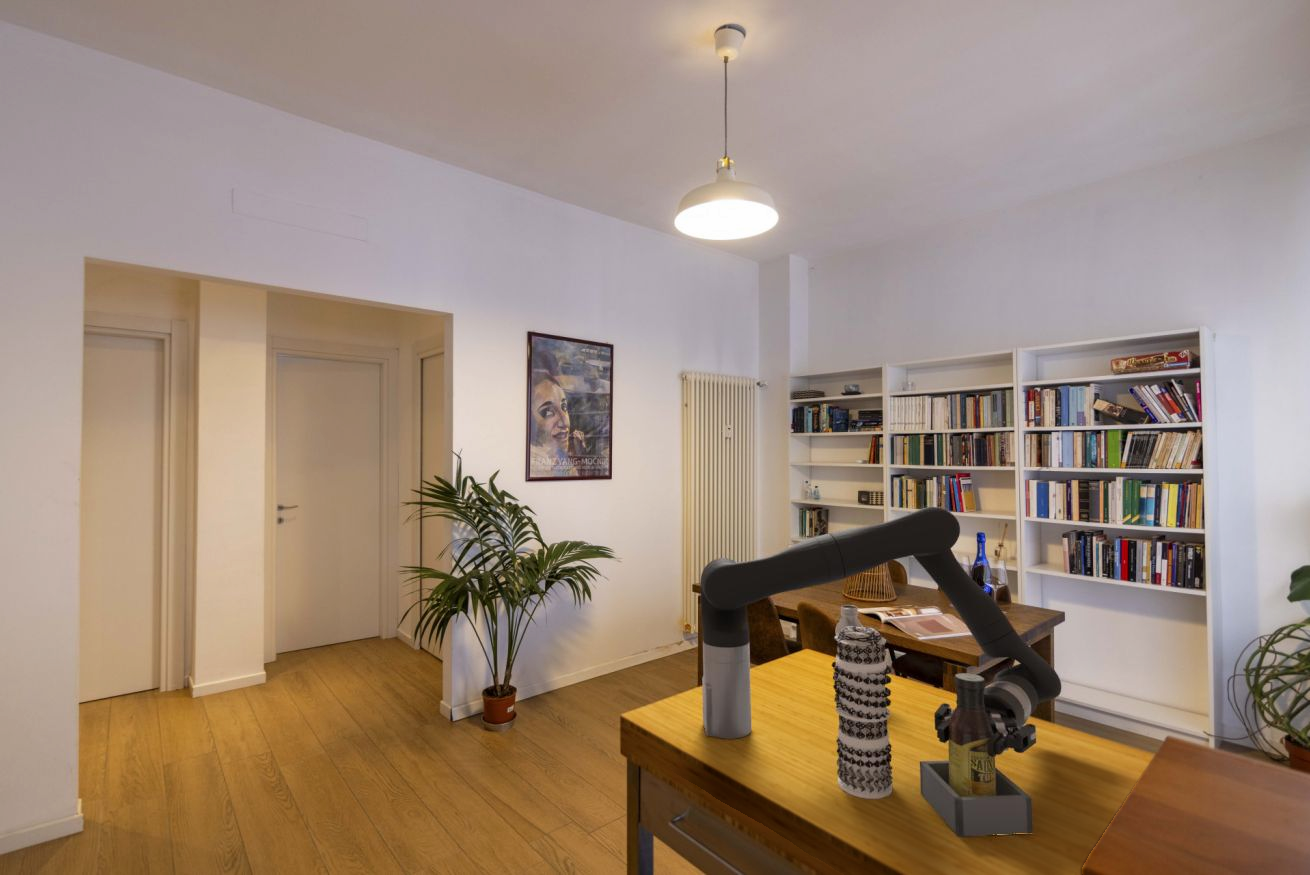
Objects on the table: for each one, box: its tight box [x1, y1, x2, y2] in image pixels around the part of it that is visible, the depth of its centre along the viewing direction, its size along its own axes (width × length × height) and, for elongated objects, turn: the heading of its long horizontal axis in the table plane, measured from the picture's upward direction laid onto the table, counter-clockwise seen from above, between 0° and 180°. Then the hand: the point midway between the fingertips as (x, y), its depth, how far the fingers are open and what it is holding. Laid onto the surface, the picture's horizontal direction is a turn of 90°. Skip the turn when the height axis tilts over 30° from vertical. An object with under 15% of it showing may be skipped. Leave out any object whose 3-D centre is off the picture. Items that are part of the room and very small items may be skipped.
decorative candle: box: [831, 625, 893, 800], centre depth 103 cm, size 9×9×25 cm
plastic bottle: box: [834, 604, 863, 688], centre depth 141 cm, size 6×7×20 cm
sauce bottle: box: [947, 672, 996, 797], centre depth 94 cm, size 6×6×20 cm
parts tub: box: [919, 760, 1034, 838], centre depth 94 cm, size 11×12×5 cm
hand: (965, 742), depth 93 cm, fingers closed on sauce bottle, 6 cm apart
